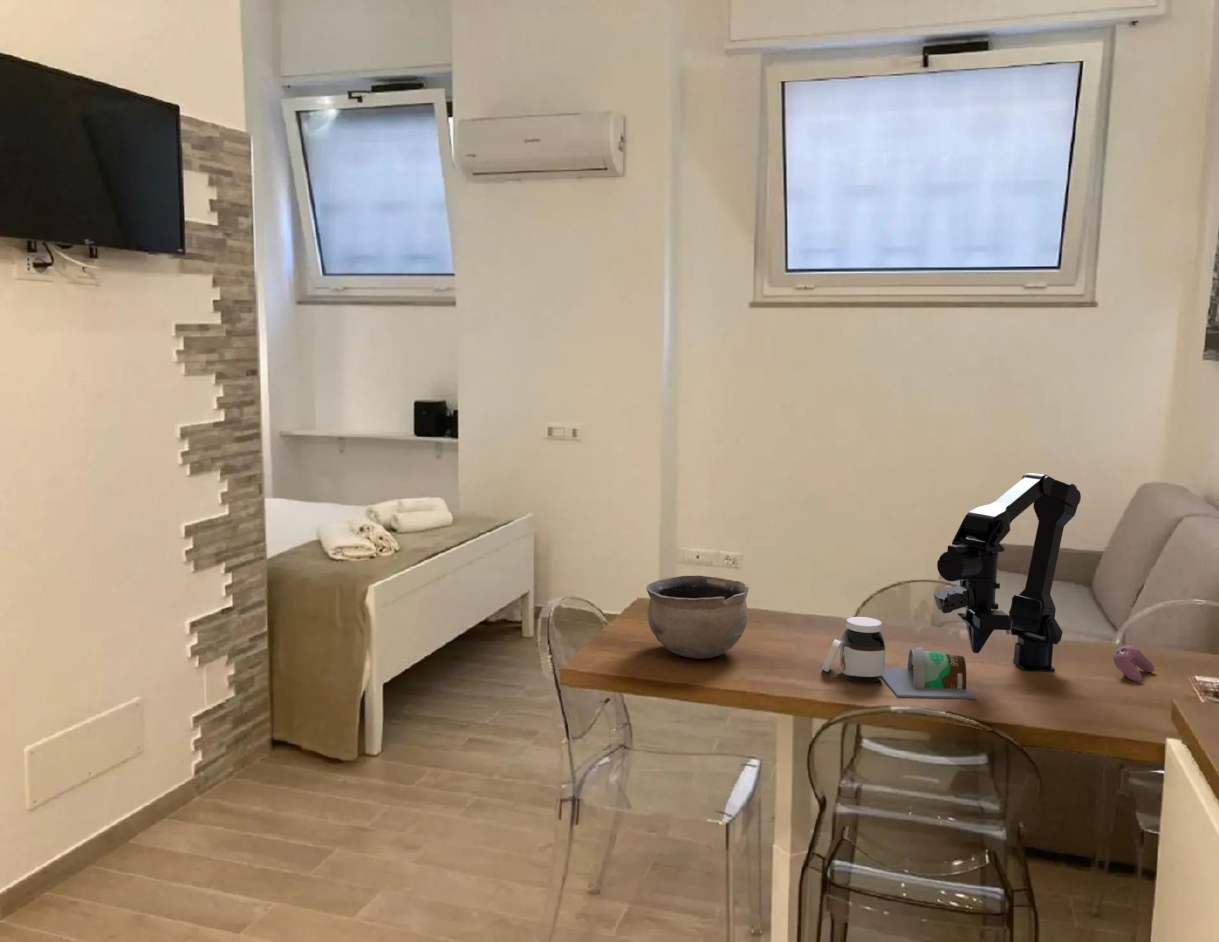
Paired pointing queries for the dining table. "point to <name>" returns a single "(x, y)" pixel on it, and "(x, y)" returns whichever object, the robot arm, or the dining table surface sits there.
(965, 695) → the mat
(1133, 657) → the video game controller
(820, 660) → the dining table surface
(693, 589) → the ceramic bowl
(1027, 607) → the robot arm
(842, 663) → the spread jar
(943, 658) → the food container
